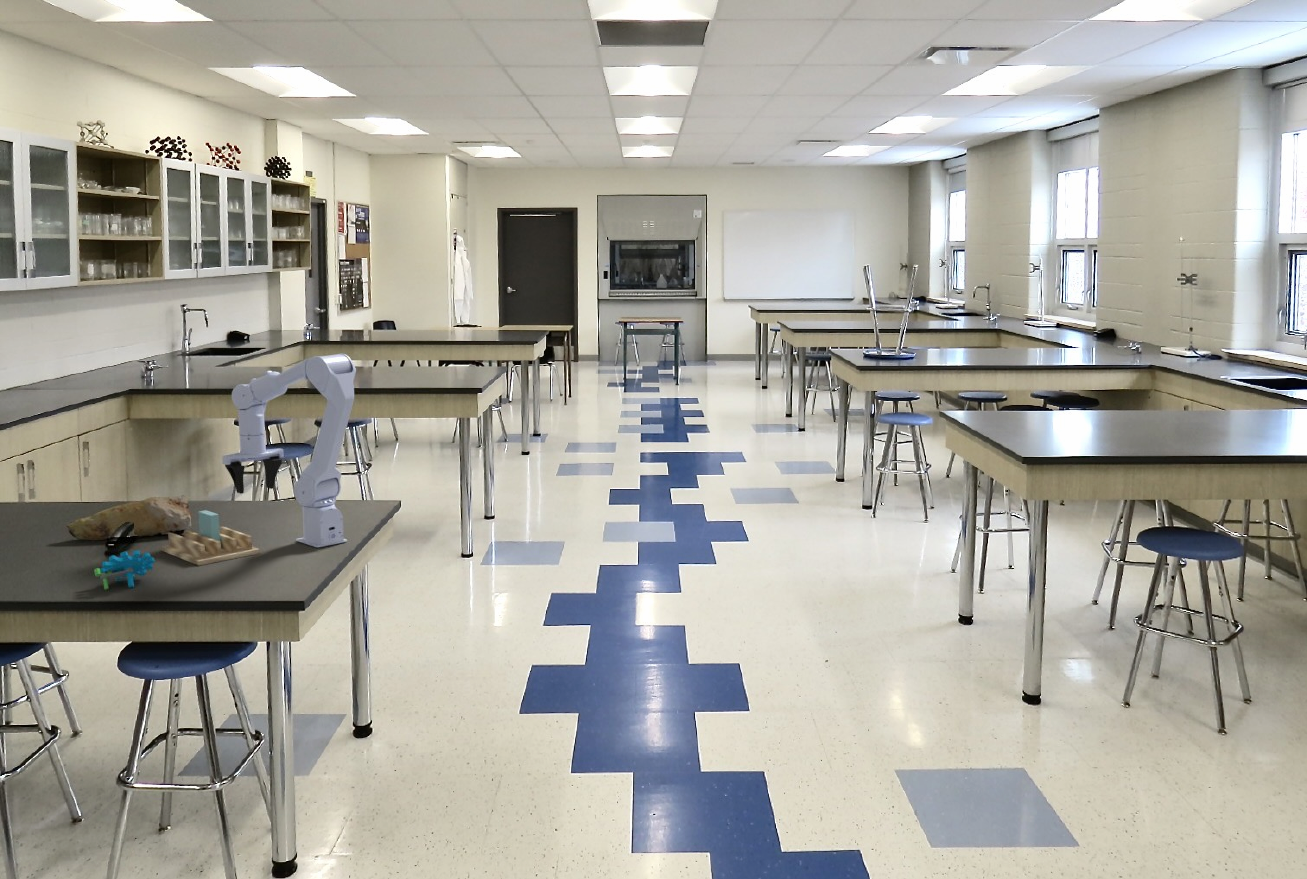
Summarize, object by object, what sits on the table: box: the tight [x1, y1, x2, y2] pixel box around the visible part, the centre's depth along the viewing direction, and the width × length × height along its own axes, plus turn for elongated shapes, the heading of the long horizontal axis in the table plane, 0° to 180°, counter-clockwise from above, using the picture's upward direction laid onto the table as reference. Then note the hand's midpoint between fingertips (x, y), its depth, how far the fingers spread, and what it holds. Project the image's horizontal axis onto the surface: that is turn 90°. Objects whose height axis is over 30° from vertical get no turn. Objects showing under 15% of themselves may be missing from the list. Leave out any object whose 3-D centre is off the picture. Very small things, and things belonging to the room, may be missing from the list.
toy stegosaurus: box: [93, 550, 156, 591], centre depth 225 cm, size 11×6×10 cm
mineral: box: [66, 494, 193, 541], centre depth 265 cm, size 26×9×10 cm
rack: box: [161, 524, 261, 566], centre depth 251 cm, size 18×14×4 cm
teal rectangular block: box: [197, 509, 220, 542], centre depth 251 cm, size 6×2×8 cm, turn 47°
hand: (255, 490), depth 267 cm, fingers open, 7 cm apart
